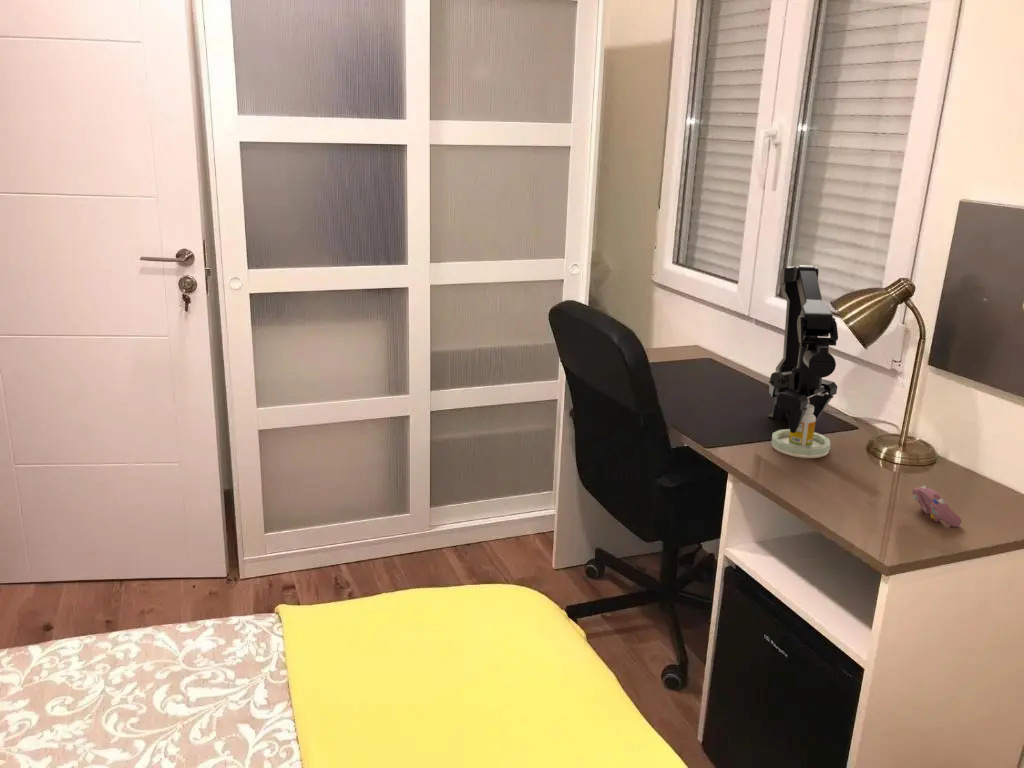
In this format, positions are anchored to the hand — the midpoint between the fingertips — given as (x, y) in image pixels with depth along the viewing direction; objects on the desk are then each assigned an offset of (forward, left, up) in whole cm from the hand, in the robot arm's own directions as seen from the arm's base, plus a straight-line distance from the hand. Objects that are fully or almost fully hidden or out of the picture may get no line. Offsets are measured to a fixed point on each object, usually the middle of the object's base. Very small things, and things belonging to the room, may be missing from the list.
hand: (802, 427), depth 195 cm
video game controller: (+14, +36, -5) cm, 39 cm away
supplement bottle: (0, 0, -4) cm, 4 cm away
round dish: (0, 0, -5) cm, 5 cm away
